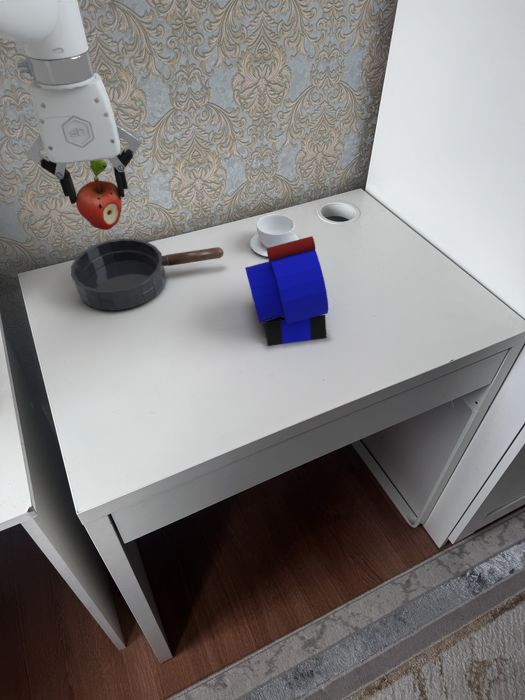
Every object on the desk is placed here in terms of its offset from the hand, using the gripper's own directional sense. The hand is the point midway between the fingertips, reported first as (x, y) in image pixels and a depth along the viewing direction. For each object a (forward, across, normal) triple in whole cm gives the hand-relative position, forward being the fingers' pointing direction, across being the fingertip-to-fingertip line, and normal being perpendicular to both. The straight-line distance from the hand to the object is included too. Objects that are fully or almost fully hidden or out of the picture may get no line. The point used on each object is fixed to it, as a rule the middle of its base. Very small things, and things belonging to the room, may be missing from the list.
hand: (98, 195), depth 74 cm
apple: (+5, 0, 0) cm, 5 cm away
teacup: (+18, +30, +5) cm, 35 cm away
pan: (+17, 0, 0) cm, 17 cm away
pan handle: (+15, +13, 0) cm, 20 cm away
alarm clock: (+18, +26, -16) cm, 35 cm away
